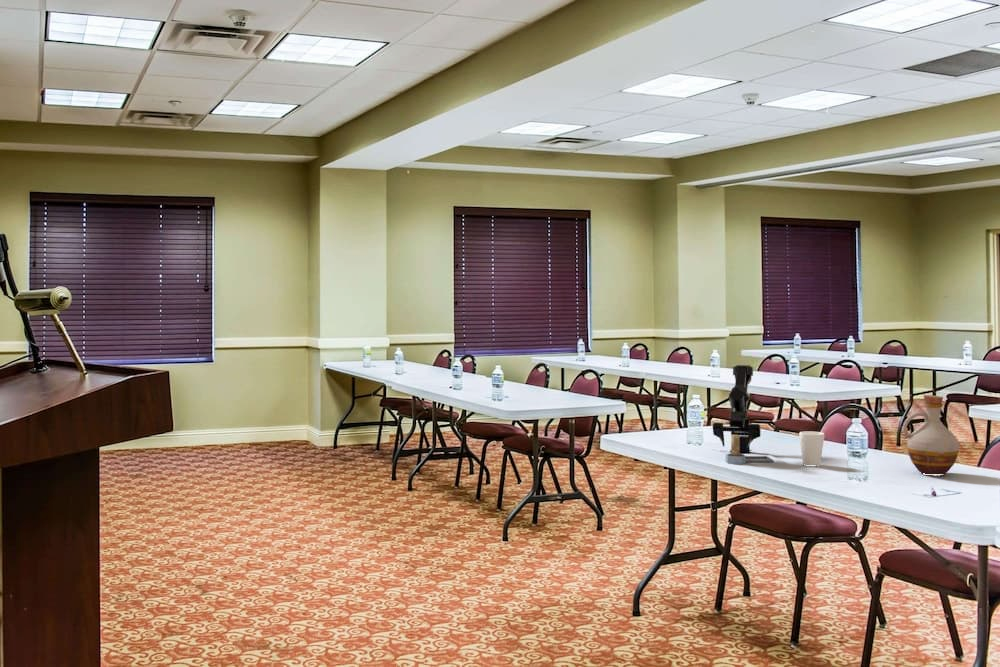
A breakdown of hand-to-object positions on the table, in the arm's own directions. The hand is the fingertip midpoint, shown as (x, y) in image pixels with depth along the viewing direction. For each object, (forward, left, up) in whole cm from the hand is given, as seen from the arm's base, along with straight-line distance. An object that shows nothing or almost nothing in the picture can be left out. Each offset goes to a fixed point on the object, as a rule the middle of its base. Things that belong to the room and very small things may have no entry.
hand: (735, 446), depth 368 cm
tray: (-10, -5, -8) cm, 14 cm away
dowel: (0, -1, -7) cm, 7 cm away
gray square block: (0, -1, -8) cm, 8 cm away
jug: (-67, +25, -8) cm, 72 cm away
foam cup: (-30, +3, -8) cm, 31 cm away
